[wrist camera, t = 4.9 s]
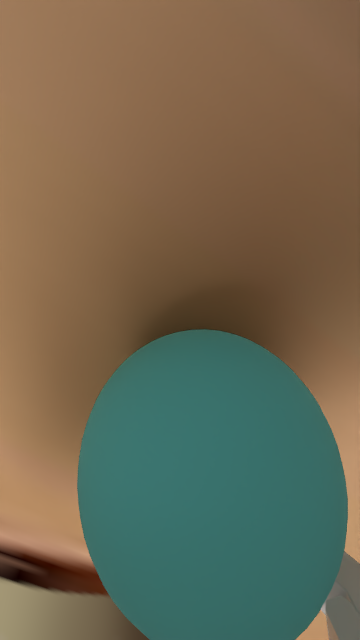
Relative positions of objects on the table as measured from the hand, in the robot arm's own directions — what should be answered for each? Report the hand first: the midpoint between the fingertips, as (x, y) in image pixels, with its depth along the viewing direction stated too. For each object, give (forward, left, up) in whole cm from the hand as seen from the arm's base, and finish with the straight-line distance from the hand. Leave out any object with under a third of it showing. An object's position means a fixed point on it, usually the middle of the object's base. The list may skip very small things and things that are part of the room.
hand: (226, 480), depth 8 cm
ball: (+1, -4, +2) cm, 4 cm away
